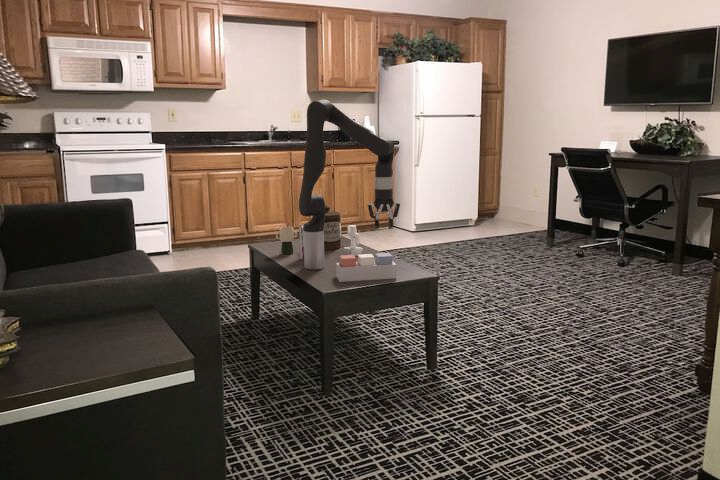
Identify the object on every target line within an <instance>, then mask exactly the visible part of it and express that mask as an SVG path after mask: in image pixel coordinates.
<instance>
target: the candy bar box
mask: <svg viewBox="0 0 720 480" xmlns="http://www.w3.org/2000/svg"><path fill="white" fill-rule="evenodd" d="M298 233H299V234H298V235H299V239H298V240H299V252H300V253H299V258H300V260H302V261H304V235H303V225H299V226H298Z"/></svg>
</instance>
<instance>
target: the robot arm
mask: <svg viewBox="0 0 720 480" xmlns="http://www.w3.org/2000/svg"><path fill="white" fill-rule="evenodd" d="M325 122H328V123H330V124H332V125H335V126H337V127H338V128H339V129H341V131H343V132H344V134H345V135H347V136H348V137H349V138H350V139H351V140H353V141H355V142H356V143H358V144H360V145H362V146H364V147H365V148H366V149H367V150H369V151H370V152H371V153H373V154H374V155H376V156H377V162H376V163H375V167H374V168H375V169H374V170H375V174H374V175H375V177H374V202H373V203H372V202H371V203H368V204H367V209H368V213H369V216H370V218H372V219H374V227H375V228H376V229H379V228H380V219H379V217H380V215H381V213H383V212H385V213H387V216H388V227H389V229H391V228H392V227H393V225H394V219H395V218H397V217H398V215H399V211H400V207H401V203H399V202H394V196H393V195H394V190H393V189H394V185H393V184H394V181H393V162H394V154H395V146H394V143H393V141H392V140H391V139H389V138H381V137H379V136H378V135H377V134H375V133H374V131H373V130H371V129H369V128H368V127H366V126H365V125H363V124H362V123H359V122H358V121H356V120H354V119H353V118H351V117H349V115H347V114H346V113H344V112H343V111H341V110H340V109H339V108H338V107H336V105H334V104H333V103H332V102H331V101H329V100H327V99H325V98H323V99H317V100H313V101H311V102H310V103H309V104H308V106H307V109H306V140H305V150H304V160H303V174H302V180H301V181H302V182H301V189H300V194H299V200H298V211H299V213H300V215H301V216H302V217H311V218H310V220H308V221H307V222H305V223H304V224H303V225H302V226H303V235H304V260H303V263H304V265H303V266H304V267H303V268H305V269H306V270H315V271H316V270H321V269H324V268H325V265H326V264H325V250H324V224H325V206H326V201H325V199H324V196H323V195H322V194H313V191H314V188H315V185H316V183H317V182H318V181H319V179H320V177H321V176H322V175H323V172H324V170H325V168H326V161H327V150H326V145H325V141H324V127H325V126H324V125H325ZM374 207H375V208H376V211H375V214H374V211H373V209H374ZM392 207H393V208H394V210H393V211H392ZM392 212H393V213H392Z"/></svg>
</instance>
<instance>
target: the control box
mask: <svg viewBox="0 0 720 480" xmlns="http://www.w3.org/2000/svg"><path fill="white" fill-rule="evenodd" d="M335 273H336V274H335V276H336V279H337V280H338V282H340V283H341V282H343V283H344V282H358V281H373V280H374V281H375V280H378V281H379V280H390V279H397V264H396V262H394V261H393V260H392V264H388V265H377V264H376V263H375V260H374V265H371V266H359V265H358V261H356V266H354V267H341V266H340V262H336V263H335Z"/></svg>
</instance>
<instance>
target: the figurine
mask: <svg viewBox="0 0 720 480" xmlns="http://www.w3.org/2000/svg"><path fill="white" fill-rule="evenodd" d="M357 230H358V229H357V225H356V224H354V225H353V224H352V225H350V224H349V225H347V227H346V234H347V236H348V237H350V246H345V247H343V248H344V251H345V252H346V255H354V256H355V257H358V255H359V254H362V252H363V250H364V248H363V247H360V246H358V245H360V243H361V242H360V240H361V239H360V238H361V237H360V236H361V235H360V234H359V233H358V232H357Z"/></svg>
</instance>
